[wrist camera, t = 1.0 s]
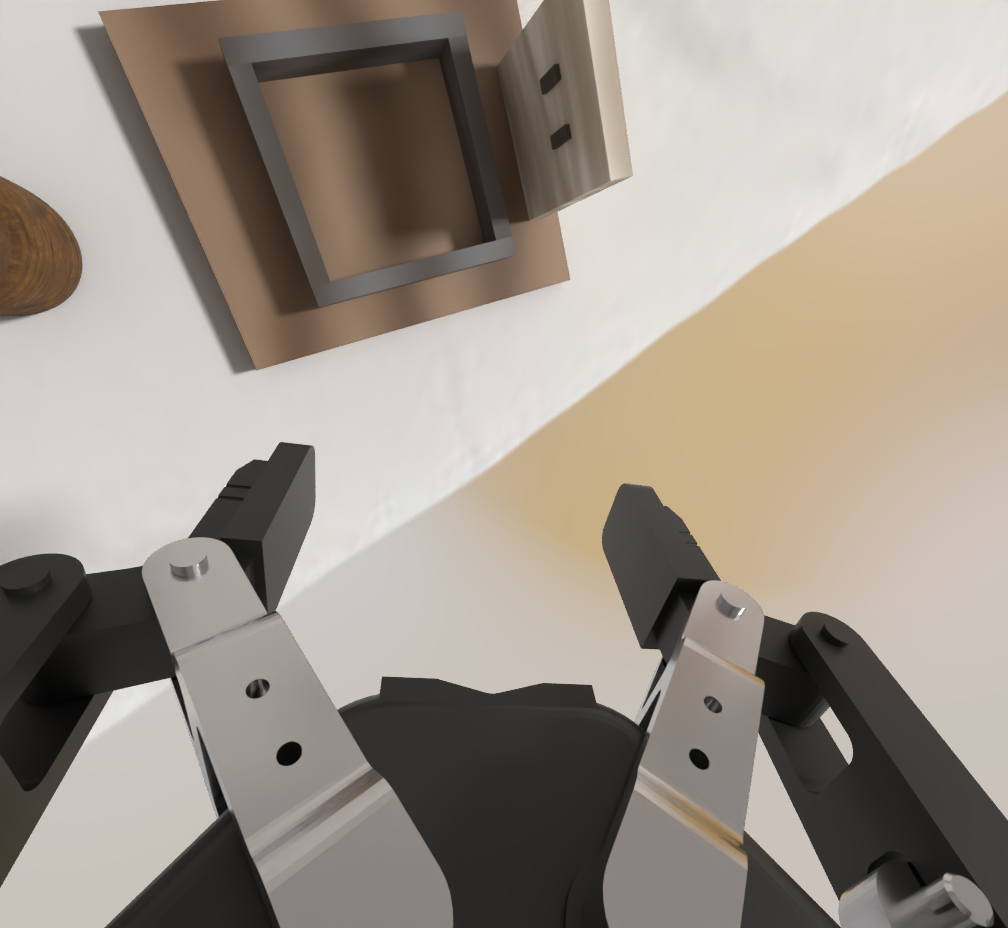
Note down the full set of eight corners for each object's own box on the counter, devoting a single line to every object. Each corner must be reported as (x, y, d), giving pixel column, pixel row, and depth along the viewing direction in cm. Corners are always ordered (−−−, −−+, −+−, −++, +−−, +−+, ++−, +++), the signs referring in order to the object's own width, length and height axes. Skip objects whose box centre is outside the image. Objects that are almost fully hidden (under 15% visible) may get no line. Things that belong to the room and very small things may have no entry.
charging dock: (258, 368, 28) (232, 388, 18) (108, 27, 22) (-37, -189, 13) (561, 281, 33) (658, 263, 24) (503, -13, 27) (601, -186, 18)
